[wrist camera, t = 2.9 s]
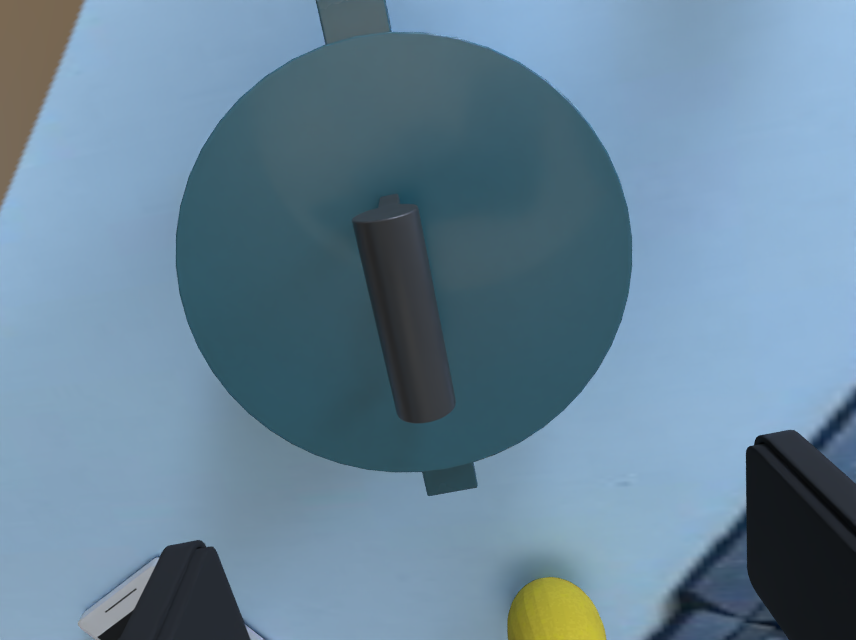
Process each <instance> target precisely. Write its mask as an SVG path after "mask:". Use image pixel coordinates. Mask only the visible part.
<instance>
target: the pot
mask: <svg viewBox="0 0 856 640" xmlns="http://www.w3.org/2000/svg"><path fill="white" fill-rule="evenodd" d="M316 4H317V8H318V13H319V17H320V21H321V26H322V30H323V35H324V39H325V44H326V45H327V44H331V43H334V42H338V41H341V40H345V39H349V38H352V37H356V36H363V35H371V34H378V33H386V32H391V27H390V21H389V16H388V11H387V6H386V0H316ZM422 473H423V478H424V482H425V486H426V491H427V495H428V496H432V495H438V494H444V493H449V492H455V491H461V490H466V489H472V488H477V486H478V484H477V479H476V473H475V468H474V463H469V464H465V465H460V466H456V467H452V468H448V469H441V470H433V471H424V472H422Z"/></svg>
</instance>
